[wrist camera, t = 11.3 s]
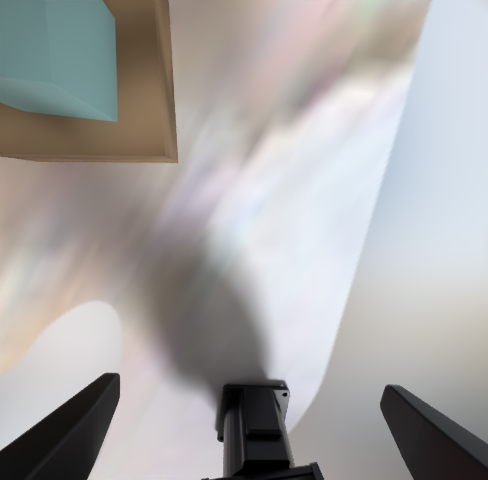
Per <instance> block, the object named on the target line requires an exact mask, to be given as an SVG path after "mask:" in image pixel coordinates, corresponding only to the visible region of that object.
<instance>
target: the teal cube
mask: <svg viewBox="0 0 488 480" xmlns="http://www.w3.org/2000/svg"><path fill="white" fill-rule="evenodd" d="M0 103H3V104H6V105H8V106H11V107H14V108H16V109H19V110H22V111H25V112H34V113H43V114H51V115H60V116H69V117H78V118H86V119H95V120H104V121H112V122H118V104H117V68H116V34H115V18H114V17H113V15H112V14H111V12H110V11H109V9H108V8H107V6H106V5H105V3H104V2H103V0H0Z"/></svg>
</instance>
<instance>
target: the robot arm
mask: <svg viewBox="0 0 488 480" xmlns="http://www.w3.org/2000/svg"><path fill="white" fill-rule="evenodd" d="M227 390H229V391H227ZM284 392H285V393H284ZM289 397H290V392H289V389H288V388H287V387H279V386H253V385H225V386H224V387H223V392H222V400H221V409H220V417H219V426H218V435H217V439H218V441H219V442H224V458H223V478H216V479H209V478H205V479H201V480H324V478H323V476H322V473H321V471H320V469H319V466H318V464H317V462H314V463H310V465H305V466H298V467H295V463H294V459H293V455H292V451H291V447H290V443H289V439H288V435H287V431H286V426H285V417H286V412H287V407H288V402H289ZM119 398H120V375H119V374H118V373H105V374H103V375H102V376H100V377H99V378H97V379H96V380H95V381H94V382H92V383H91V384H89V385H88V386H87V387H85V388H84V389H83V390H81V391H80V392H79V393H77V394H76V395H75V396H73V397H72V398H71V399H69V400H68V401H67V402H66V403H64V404H63V405H61V406H60V407H58V408H57V409H56V410H55V411H53V412H52V413H50V414H49V415H48V416H46V417H45V418H44V419H42V420H41V421H40V422H38V423H37V424H36V425H34V426H33V427H32V428H30V429H29V430H28V431H26V432H25V433H24V434H22V435H21V436H20V437H18V438H17V439H15V440H14V441H13V442H11V443H10V444H9V445H7V446H6V447H5V448H3V449H2V450H1V451H0V480H87V479H88V477H89V474H90V472H91V470H92V468H93V466H94V463H95V461H96V459H97V456H98V454H99V451H100V448H101V446H102V443H103V441H104V438H105V436H106V433H107V430H108V428H109V425H110V423H111V420H112V417H113V415H114V412H115V410H116V407H117V405H118V402H119ZM380 407H381V411H382V413H383V416H384V418H385V420H386V422H387V424H388V426H389V429H390V431H391V433H392V435H393V437H394V440H395V442H396V444H397V446H398V448H399V450H400V453H401V455H402V457H403V459H404V461H405V463H406V465H407V467H408V469H409V471H410V473H411V475H412V477H413V479H414V480H488V444H487V443H486V442H484V441H483V440H481V439H479V438H478V437H477V436H475V435H473V434H472V433H471V432H469V431H468V430H466V429H465V428H463V427H462V426H460V425H458V424H457V423H456V422H454V421H452V420H451V419H450V418H448V417H446V416H445V415H444V414H442V413H440V412H439V411H437V410H436V409H434V408H433V407H431V406H430V405H428V404H427V403H425V402H424V401H422V400H421V399H419V398H418V397H416V396H415V395H413V394H412V393H410V392H409V391H407V390H406V389H404V388H403V387H401V386H399V385H390V384H389V385H387V386H385V389H384V392H383V395H382V399H381V402H380Z"/></svg>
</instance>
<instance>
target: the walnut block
mask: <svg viewBox="0 0 488 480" xmlns="http://www.w3.org/2000/svg"><path fill="white" fill-rule="evenodd" d="M103 2H104V3H105V5H106V6H107V8H108V9H109V11H110V12H111V14H112V15H113V17H114V18H115V34H116V68H117V104H118V122H112V121H104V120H95V119H86V118H78V117H69V116H60V115H51V114H43V113H34V112H25V111H22V110H19V109H16V108H14V107H11V106H8V105H6V104H3V103H0V156H2V157H9V158H17V159H24V160H31V161H38V162H137V163H178V152H177V135H176V118H175V101H174V84H173V68H172V51H171V34H170V17H169V3H168V0H103Z"/></svg>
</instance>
